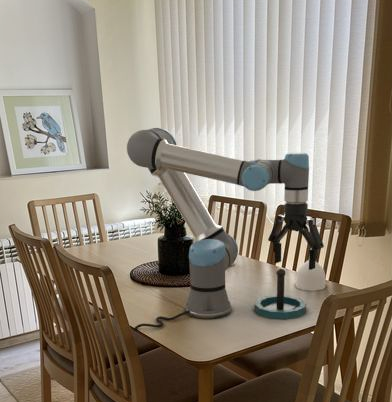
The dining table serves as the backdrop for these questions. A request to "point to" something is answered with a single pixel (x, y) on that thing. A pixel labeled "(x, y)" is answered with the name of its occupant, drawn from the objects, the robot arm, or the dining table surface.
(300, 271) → the teardrop
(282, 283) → the ring holder
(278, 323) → the dining table surface
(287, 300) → the ring
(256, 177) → the robot arm
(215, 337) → the dining table surface
